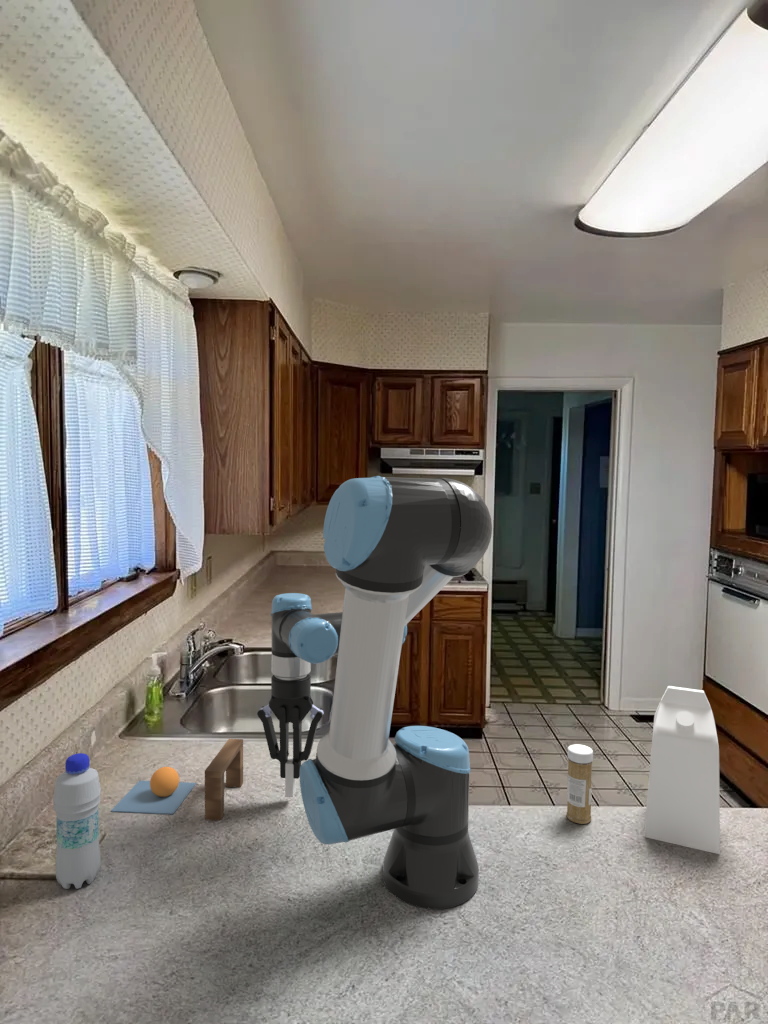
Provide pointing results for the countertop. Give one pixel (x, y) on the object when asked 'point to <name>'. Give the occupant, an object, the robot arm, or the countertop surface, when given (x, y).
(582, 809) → the sprinkles bottle
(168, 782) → the ball
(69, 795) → the bottle
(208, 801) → the bridge
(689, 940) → the countertop surface
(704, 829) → the milk
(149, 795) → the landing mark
